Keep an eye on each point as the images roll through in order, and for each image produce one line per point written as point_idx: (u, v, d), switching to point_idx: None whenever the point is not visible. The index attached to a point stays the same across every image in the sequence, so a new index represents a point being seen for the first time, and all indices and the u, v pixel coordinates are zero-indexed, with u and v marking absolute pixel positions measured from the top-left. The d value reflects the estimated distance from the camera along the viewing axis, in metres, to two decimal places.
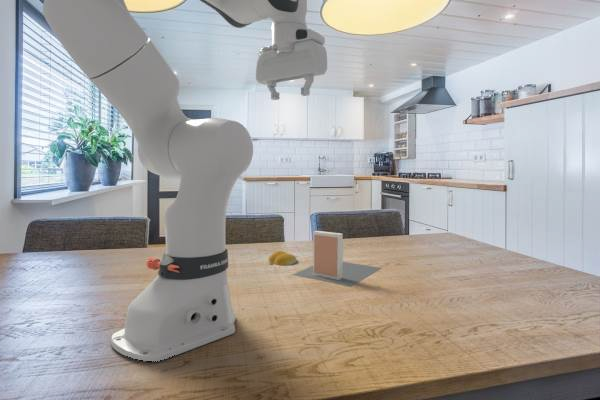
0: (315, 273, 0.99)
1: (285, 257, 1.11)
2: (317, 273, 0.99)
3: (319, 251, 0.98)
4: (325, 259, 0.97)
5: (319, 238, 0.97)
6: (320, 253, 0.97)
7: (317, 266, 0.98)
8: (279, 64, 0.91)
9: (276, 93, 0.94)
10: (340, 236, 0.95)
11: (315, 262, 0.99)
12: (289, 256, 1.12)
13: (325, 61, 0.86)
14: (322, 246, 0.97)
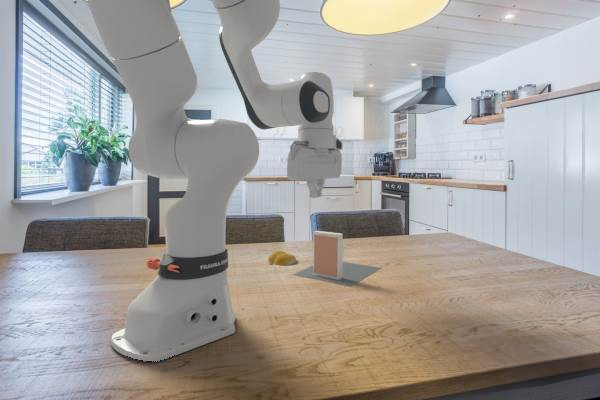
0: (315, 273, 0.99)
1: (285, 257, 1.11)
2: (317, 273, 0.99)
3: (319, 251, 0.98)
4: (325, 259, 0.97)
5: (319, 238, 0.97)
6: (320, 253, 0.97)
7: (317, 266, 0.98)
8: (317, 165, 0.88)
9: None
10: (340, 236, 0.95)
11: (315, 262, 0.99)
12: (289, 256, 1.12)
13: None
14: (322, 246, 0.97)
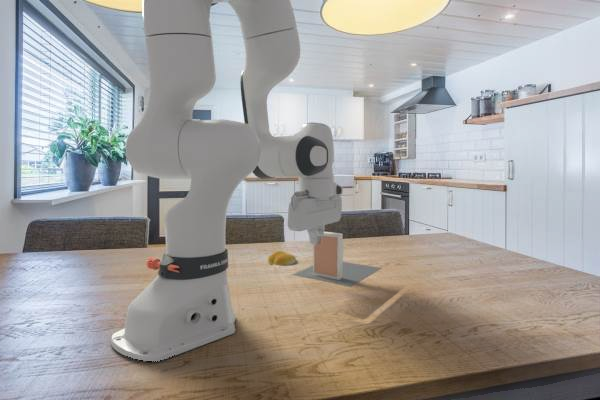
0: (315, 273, 0.99)
1: (285, 257, 1.11)
2: (317, 273, 0.99)
3: (319, 251, 0.98)
4: (325, 259, 0.97)
5: None
6: (320, 253, 0.97)
7: (317, 266, 0.98)
8: (317, 213, 0.89)
9: None
10: (340, 236, 0.95)
11: (315, 262, 0.99)
12: (289, 256, 1.12)
13: None
14: (322, 246, 0.97)
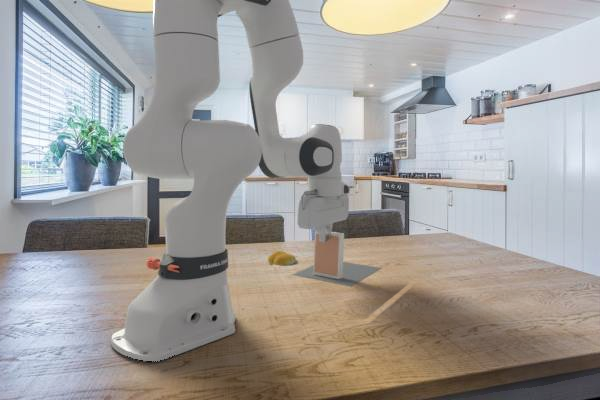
0: (315, 272, 0.99)
1: (284, 257, 1.11)
2: (317, 272, 0.99)
3: (320, 250, 0.98)
4: (326, 258, 0.97)
5: None
6: (321, 252, 0.98)
7: (318, 265, 0.98)
8: (326, 212, 0.92)
9: None
10: (341, 235, 0.95)
11: (316, 261, 0.99)
12: (288, 256, 1.12)
13: None
14: (323, 245, 0.97)
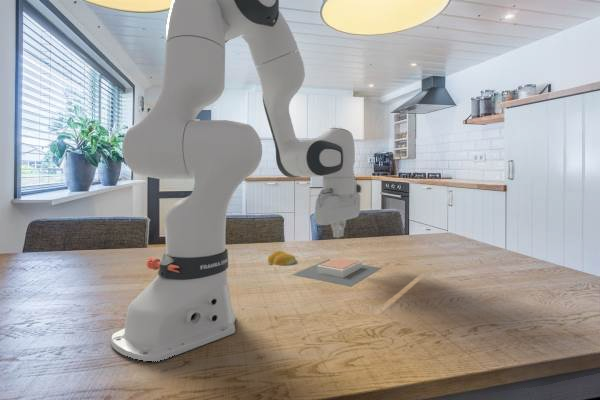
0: (320, 265, 1.01)
1: (284, 257, 1.11)
2: (322, 266, 1.01)
3: (336, 261, 1.06)
4: (338, 263, 1.03)
5: (341, 258, 1.08)
6: (336, 261, 1.05)
7: (327, 264, 1.02)
8: (340, 209, 0.99)
9: None
10: (361, 263, 1.06)
11: (326, 262, 1.04)
12: (288, 256, 1.12)
13: None
14: (341, 260, 1.06)
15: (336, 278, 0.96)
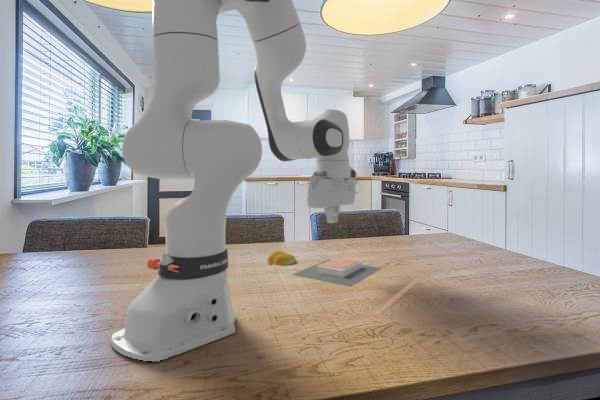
0: (320, 265, 1.01)
1: (284, 257, 1.11)
2: (322, 266, 1.01)
3: (336, 261, 1.06)
4: (338, 263, 1.03)
5: (341, 258, 1.08)
6: (336, 261, 1.05)
7: (327, 264, 1.02)
8: (334, 193, 0.96)
9: None
10: (361, 263, 1.06)
11: (326, 262, 1.04)
12: (288, 256, 1.12)
13: None
14: (341, 260, 1.06)
15: (336, 278, 0.96)
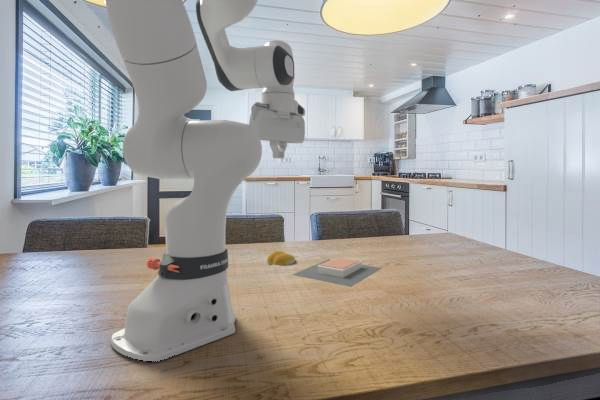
0: (320, 265, 1.01)
1: (284, 257, 1.11)
2: (322, 266, 1.01)
3: (336, 261, 1.06)
4: (338, 263, 1.03)
5: (341, 258, 1.08)
6: (336, 261, 1.05)
7: (327, 264, 1.02)
8: (279, 127, 0.95)
9: None
10: (361, 263, 1.06)
11: (326, 262, 1.04)
12: (288, 256, 1.12)
13: None
14: (341, 260, 1.06)
15: (336, 278, 0.96)
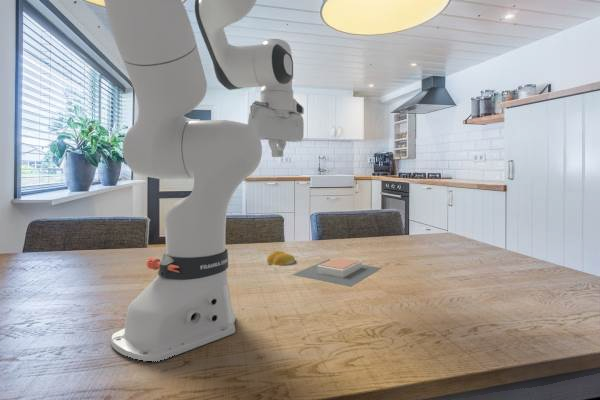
0: (320, 265, 1.01)
1: (283, 257, 1.11)
2: (322, 266, 1.01)
3: (336, 261, 1.06)
4: (338, 263, 1.03)
5: (341, 258, 1.08)
6: (336, 261, 1.05)
7: (327, 264, 1.02)
8: (277, 126, 0.95)
9: None
10: (361, 263, 1.06)
11: (326, 262, 1.04)
12: (287, 256, 1.12)
13: None
14: (341, 260, 1.06)
15: (336, 278, 0.96)
